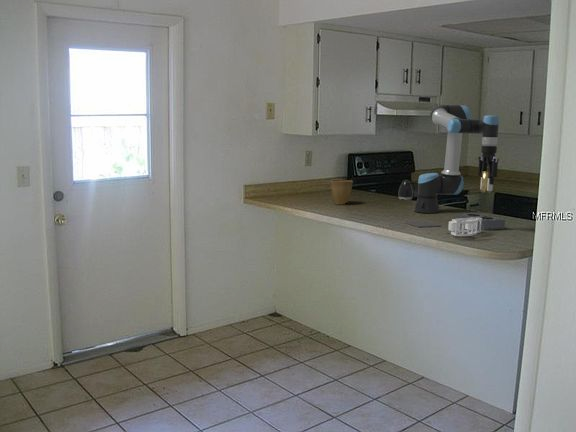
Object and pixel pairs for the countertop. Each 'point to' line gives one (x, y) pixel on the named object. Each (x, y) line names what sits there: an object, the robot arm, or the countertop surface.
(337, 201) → the plant pot
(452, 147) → the robot arm
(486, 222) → the block
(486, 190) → the bushing
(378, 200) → the countertop surface
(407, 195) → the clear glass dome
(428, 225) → the mat
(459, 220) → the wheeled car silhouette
